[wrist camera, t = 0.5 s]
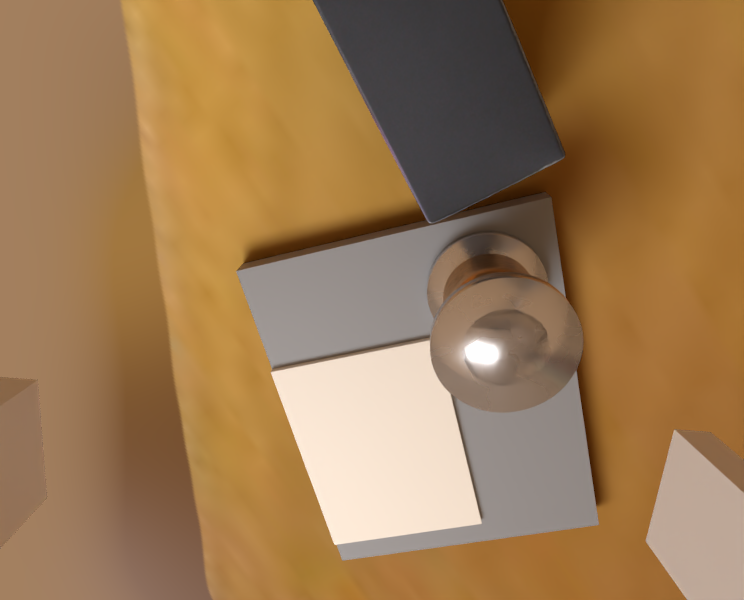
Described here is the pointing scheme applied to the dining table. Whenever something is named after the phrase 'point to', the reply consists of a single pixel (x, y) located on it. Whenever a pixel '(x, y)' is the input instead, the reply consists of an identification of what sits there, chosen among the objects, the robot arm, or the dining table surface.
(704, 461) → the robot arm
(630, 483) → the dining table surface
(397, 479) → the board
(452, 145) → the small box
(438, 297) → the bobbin
